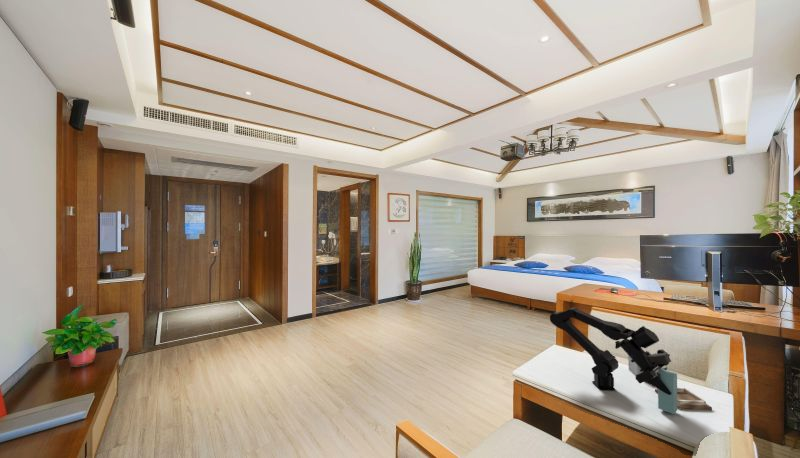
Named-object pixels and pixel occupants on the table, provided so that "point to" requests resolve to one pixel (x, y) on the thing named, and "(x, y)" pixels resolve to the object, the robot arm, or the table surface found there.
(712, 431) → the table surface
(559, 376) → the table surface
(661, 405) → the column block
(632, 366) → the medicine box
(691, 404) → the base plate
